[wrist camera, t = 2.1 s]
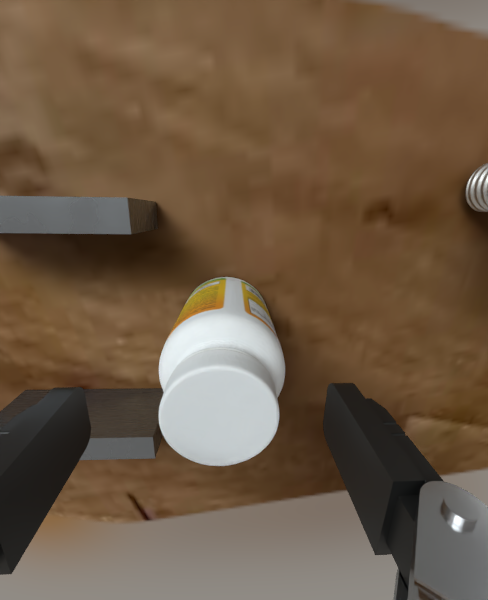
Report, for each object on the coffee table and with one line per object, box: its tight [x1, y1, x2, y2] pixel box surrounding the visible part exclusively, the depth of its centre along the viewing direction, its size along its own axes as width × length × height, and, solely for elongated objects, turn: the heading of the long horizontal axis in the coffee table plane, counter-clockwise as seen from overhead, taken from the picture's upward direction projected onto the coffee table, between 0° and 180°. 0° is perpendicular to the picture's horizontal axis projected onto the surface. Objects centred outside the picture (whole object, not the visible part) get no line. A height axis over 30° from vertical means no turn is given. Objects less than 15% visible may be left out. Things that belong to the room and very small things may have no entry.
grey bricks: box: [0, 196, 164, 460], centre depth 16 cm, size 10×14×4 cm
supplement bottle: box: [159, 277, 285, 466], centre depth 14 cm, size 5×5×10 cm
